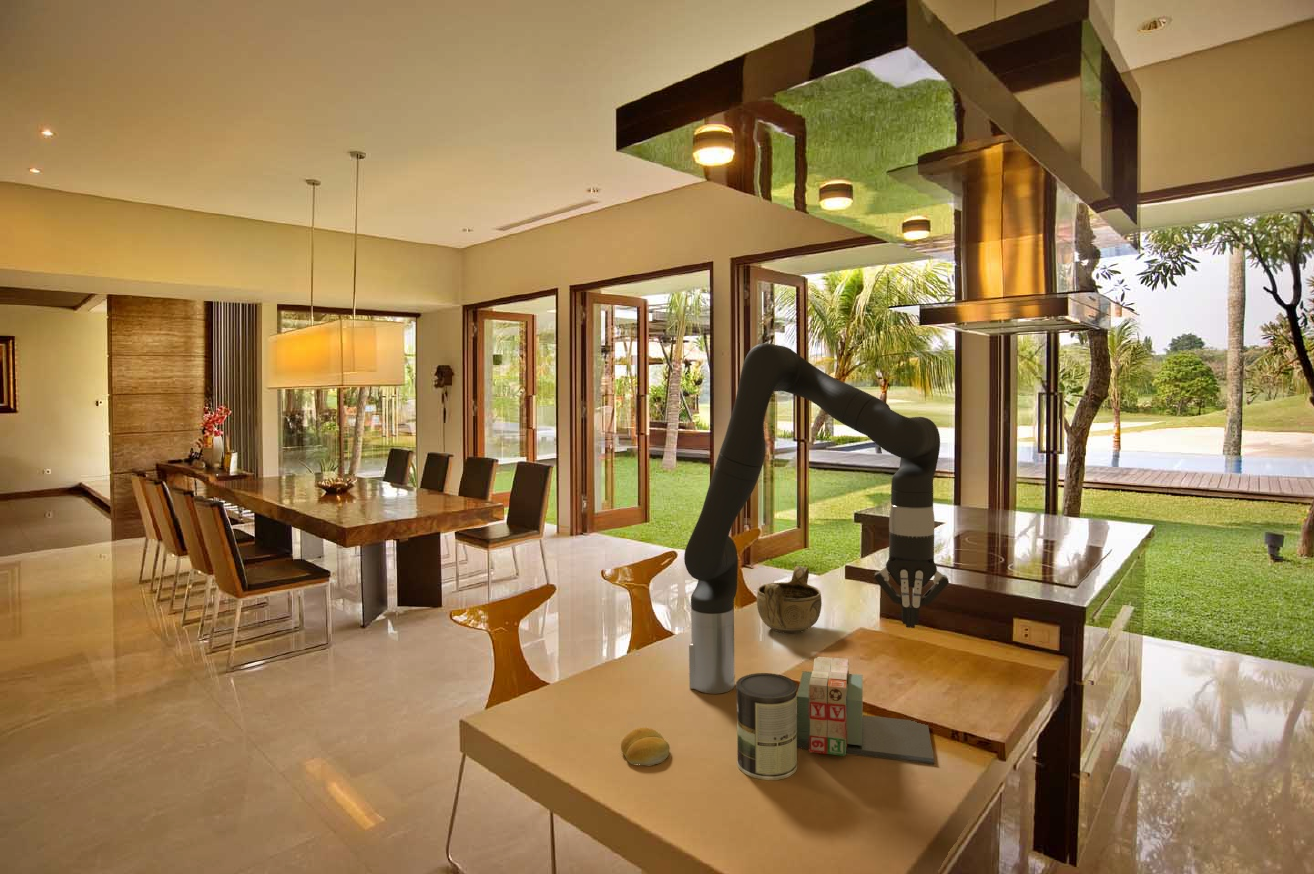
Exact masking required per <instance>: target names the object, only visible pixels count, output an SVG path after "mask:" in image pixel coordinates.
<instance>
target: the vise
mask: <svg viewBox="0 0 1314 874" xmlns="http://www.w3.org/2000/svg"><path fill="white" fill-rule="evenodd" d="M811 675H812V671H808V670H807V671H805V670H803V671H802V672H801V676H800V681H799V686H798V688H797V749H805V750H809V733H810V720H809V683H810V678H811ZM911 720H912V719H903V718H896V717H895V718H894V717H893V718H892V717H886V716H885V717H884V716H877V715H876V716H875V715H874V716H873V715H865V714H864V715H863V719H862V746H861V745H852V744H847V747H846V754H847V755H854V756H861V757H862V756H863V757H868V758H869V757H870V758H878V759H887V760H895V761H896V760H897V761H902V762H903V761H904V762H911V763H919V764H928V765H934V764H935V761H934V760H935V759H934V758H935V757H934V751H933V745H932V741H931V734H930V729H929V724H928V725H925V724H921V723H917V722H915V721H916V720H914V721H911Z"/></svg>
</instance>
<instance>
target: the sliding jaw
mask: <svg viewBox="0 0 1314 874" xmlns="http://www.w3.org/2000/svg"><path fill="white" fill-rule="evenodd" d="M863 680H864V679H863V674H858V673H857V674H856V673H849V681H848V694H847V744H852V745H861V746H862V719H863V712H864V711H863V708H864V707H863V703H864V701H863V697H864V695H863V693H864V692H863V691H864V690H863V688H864V687H863V683H864V682H863Z"/></svg>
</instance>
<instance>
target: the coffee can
mask: <svg viewBox="0 0 1314 874" xmlns="http://www.w3.org/2000/svg"><path fill="white" fill-rule="evenodd" d="M735 689H736V730H737V731H736V732H737V733H736V735H737V738H736V739H737V741H736V742H737V751H736V752H737V753H736V755H737V756H736V758H737V759H736V763H737V765H736V766H737V767H738V770H740V771H741V772H742V773H743V774H744V775H746V776H748V777H750V778H754V779H757V780H761V781H780V780H783V779H787V778H789V777H791V776H792V775H793V774H795V773H796V771H797V769H798V761H797V759H798V758H797V756H798V755H797V752H798V748H797V693H798V684H797V683H796V682H795V681H794V680H793V679H792V678H790V677H789V676H785V675H782V674H778V673H777V674H776V673H771V672H756V673H750V674H747V675H744V676H742V677H740V678H739V679H737V681H736V682H735Z"/></svg>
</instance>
